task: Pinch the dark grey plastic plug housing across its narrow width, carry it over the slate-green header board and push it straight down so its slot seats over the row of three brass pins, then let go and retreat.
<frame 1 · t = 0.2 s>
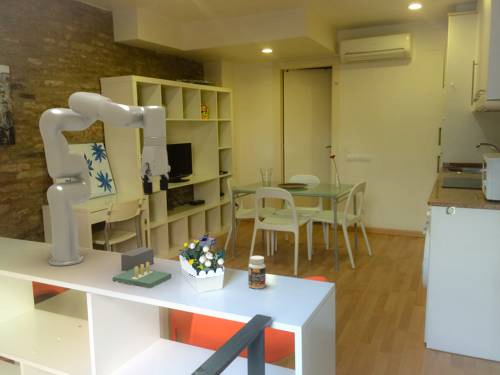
hand: (156, 192, 153), 30 cm above the table, fingers open, 9 cm apart
plug housing: (138, 266, 169), on the table
pill bottle: (256, 286, 148), on the table
header board: (142, 279, 155), on the table
ink cartridge box: (203, 272, 163), on the table
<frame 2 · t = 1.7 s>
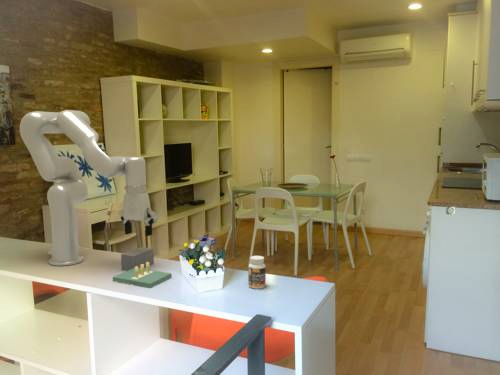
hand: (138, 234, 168), 13 cm above the table, fingers open, 9 cm apart
nothing on the table moved.
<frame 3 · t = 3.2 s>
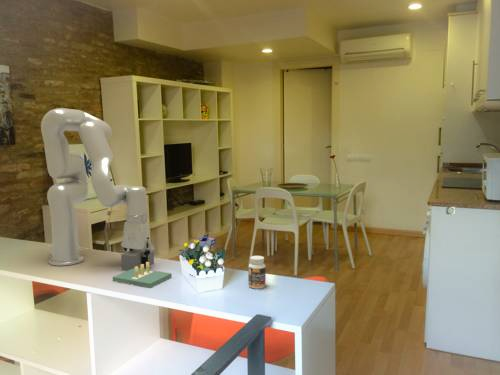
hand: (138, 264, 169), 1 cm above the table, fingers closed on plug housing, 5 cm apart
plug housing: (138, 266, 169), on the table, touching gripper
everything else where it was.
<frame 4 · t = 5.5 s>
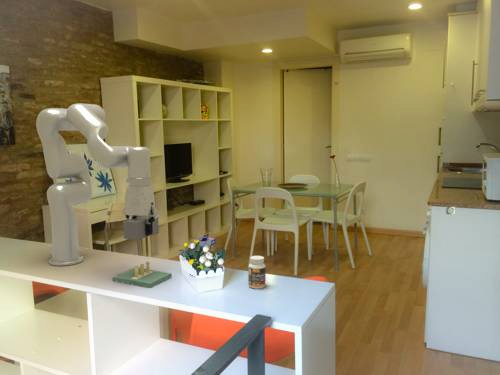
hand: (141, 233, 154), 16 cm above the table, fingers closed on plug housing, 5 cm apart
plug housing: (141, 235, 154), point 15 cm above the table, touching gripper
everything else where it was.
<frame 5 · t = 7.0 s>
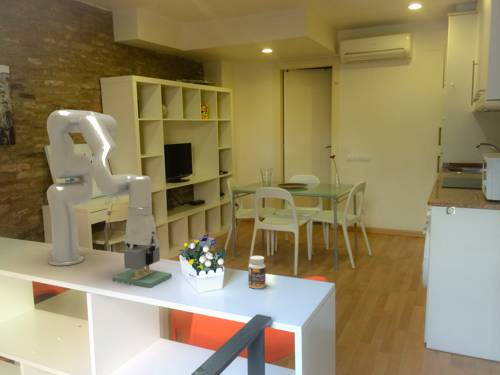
hand: (142, 262, 154), 6 cm above the table, fingers closed on plug housing, 5 cm apart
plug housing: (142, 264, 154), point 5 cm above the table, touching gripper
everything else where it was.
when the fingers open (3 cm above the table, at t = 8.1 s): plug housing stays where it is, resting on header board.
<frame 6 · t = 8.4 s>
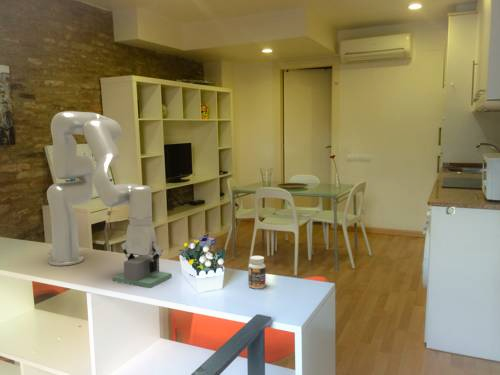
hand: (142, 269, 154), 3 cm above the table, fingers open, 9 cm apart
plug housing: (142, 275, 155), point 1 cm above the table, touching header board
everything else where it was.
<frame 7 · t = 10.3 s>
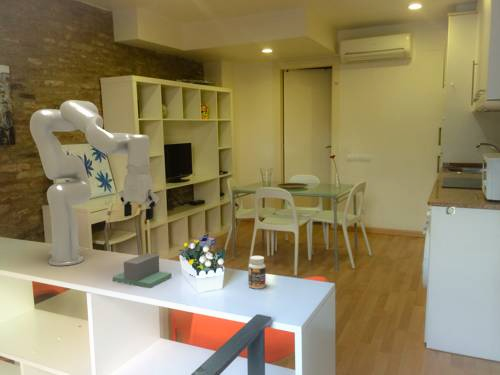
hand: (138, 217, 157), 21 cm above the table, fingers open, 9 cm apart
nothing on the table moved.
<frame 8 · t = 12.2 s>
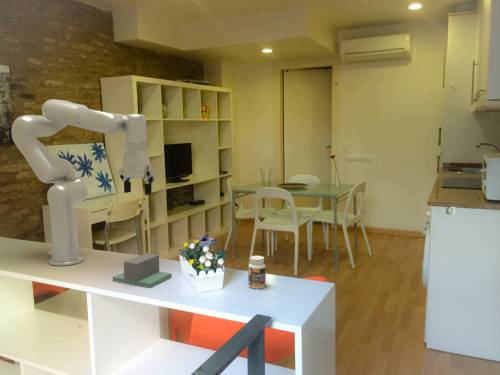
hand: (137, 193, 167), 28 cm above the table, fingers open, 9 cm apart
nothing on the table moved.
at the end: plug housing 0.1 cm off-centre on the header board, point 1.5 cm above the header board's base; plug housing tilted 0°; the gripper is holding nothing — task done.
